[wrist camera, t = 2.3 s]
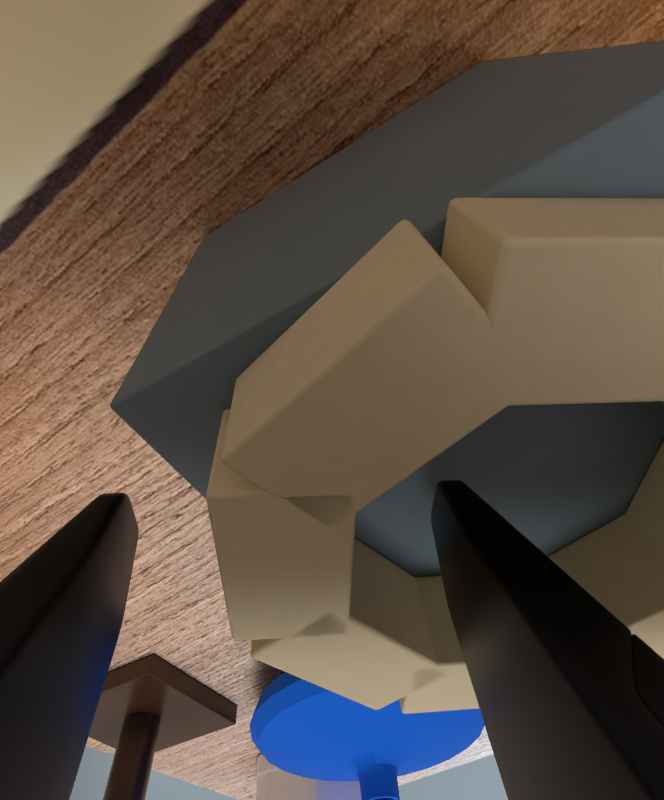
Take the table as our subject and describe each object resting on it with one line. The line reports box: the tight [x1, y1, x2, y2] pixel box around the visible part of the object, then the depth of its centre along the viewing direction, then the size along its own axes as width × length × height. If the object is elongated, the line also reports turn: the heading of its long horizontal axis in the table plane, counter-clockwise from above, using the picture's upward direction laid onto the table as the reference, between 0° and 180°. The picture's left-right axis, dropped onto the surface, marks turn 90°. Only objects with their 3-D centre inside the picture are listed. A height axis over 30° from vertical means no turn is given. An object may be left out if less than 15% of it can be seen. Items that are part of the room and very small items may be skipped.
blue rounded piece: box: [250, 672, 485, 800], centre depth 30 cm, size 16×16×7 cm
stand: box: [88, 655, 237, 800], centre depth 30 cm, size 9×9×6 cm
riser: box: [110, 41, 664, 577], centre depth 13 cm, size 10×10×10 cm
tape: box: [206, 198, 664, 714], centre depth 8 cm, size 10×10×2 cm
